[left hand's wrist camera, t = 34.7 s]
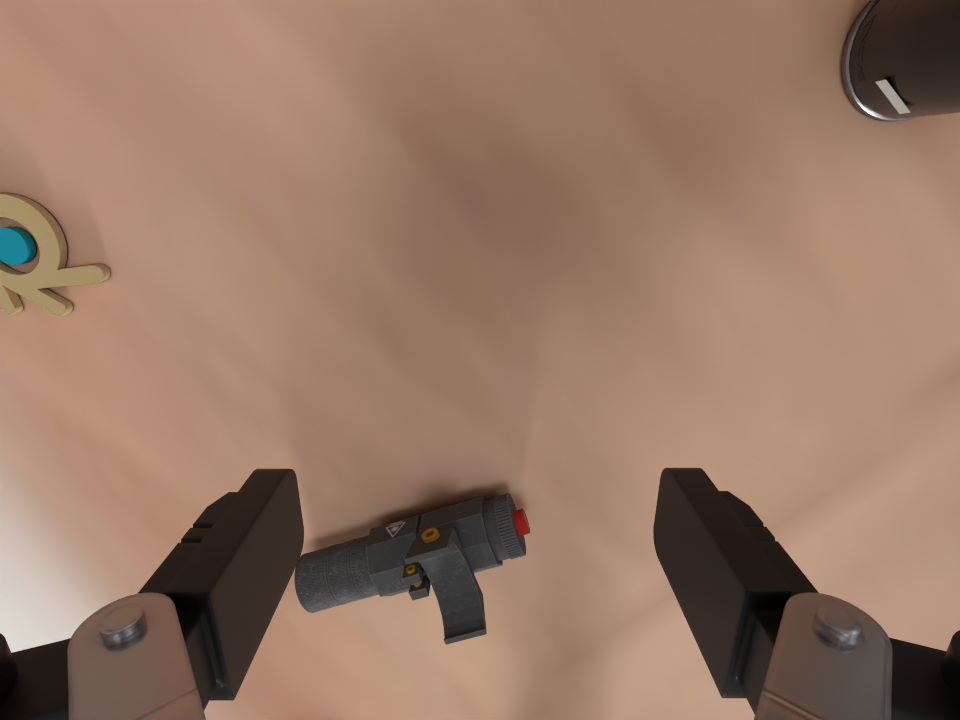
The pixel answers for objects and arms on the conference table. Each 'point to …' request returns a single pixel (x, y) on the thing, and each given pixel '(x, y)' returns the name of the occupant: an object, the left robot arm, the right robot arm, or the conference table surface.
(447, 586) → the laser sight
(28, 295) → the logo
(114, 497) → the conference table surface
